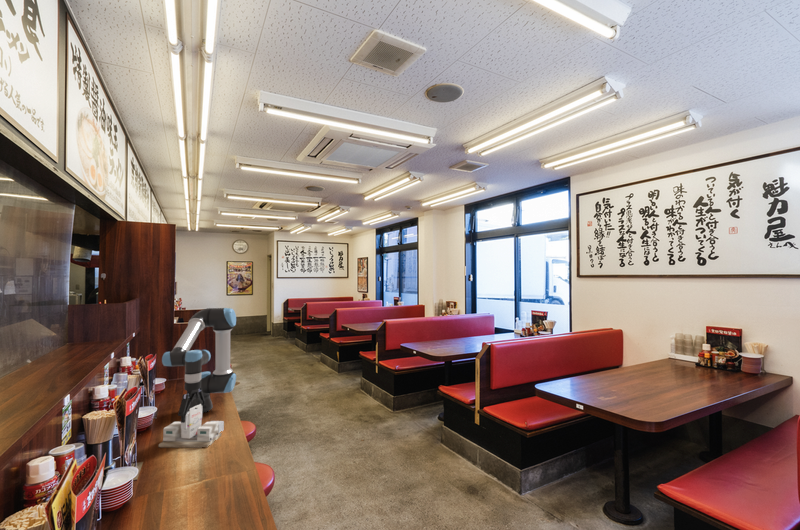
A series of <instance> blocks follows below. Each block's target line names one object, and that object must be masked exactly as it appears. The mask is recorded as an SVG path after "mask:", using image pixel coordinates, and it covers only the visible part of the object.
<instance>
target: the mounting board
mask: <svg viewBox="0 0 800 530" xmlns="http://www.w3.org/2000/svg"><path fill="white" fill-rule="evenodd" d="M218 424H219V422H211V421H206V422H205V423H203V424H201V426H200V427H199V428H198V429H197V435H195V436H193V437H191V438H189V439H188V438H181V421H173V422H172V423H170V424H169V425H167V426H165V427H163V431H162V432H163V434H162V435H163V436H162V437H163V439H162V442H160V443H159V444H158V448H202V447H207V448H209V447H210V446H211V445H212V444H214V443H215V442H216V441H217V440H218V439H220V437H222V435H223V434H222V432H221V433H218ZM215 440H216V441H215ZM214 441H215V442H214ZM209 445H210V446H209ZM208 446H209V447H208Z"/></svg>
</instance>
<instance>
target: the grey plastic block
mask: <svg viewBox="0 0 800 530" xmlns="http://www.w3.org/2000/svg"><path fill="white" fill-rule="evenodd" d="M210 422H219V424H218V433H220V432H221V431H222V432H223V431H224V430H225V429H224V428H225V422H224V420H210ZM222 432H221V433H222Z"/></svg>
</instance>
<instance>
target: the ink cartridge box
mask: <svg viewBox="0 0 800 530" xmlns="http://www.w3.org/2000/svg"><path fill="white" fill-rule="evenodd" d="M195 408H197V409H195ZM186 415H187V429H181V438H188V439H189V438H191V437H193V436H195V435H197V429H198V428H199V427H200V426H202V422H203V421H202V419H203V413H202V409H201V404H199V405H197V406H194V407H192V408H190V409H189V411H188V412H187V414H186Z"/></svg>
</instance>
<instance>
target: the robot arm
mask: <svg viewBox="0 0 800 530" xmlns="http://www.w3.org/2000/svg"><path fill="white" fill-rule="evenodd" d="M236 325H237V315H236V311H235V310H234V309H233V308H232V307H231V308H230V307H229V308H228V307H216V308H214V307H209V308H203V309H202V310H199V311H198V312H195V314H194V315H192V316H191V318H189V319H188V322H187V326H186V328H185V329H184V331H183V333H182V334H181V336H180V338H179V339H178V341H177V342H176V344H175V345H174V347H173V349H172V350H171V351H170V350H169V351H165V352H164V353H163V355H162V357H161V363H162V365H163V367H184V391H186V394H184V393H183V394H182V397H181V398H182V399H181V402H180V405H179V410H178V413H177V416H178V417H179V416H180V422H181V429H187V415H186V414H187V412H188V411H189V409H190V408H192V407H194V406H197V405H199V404H201V409H202V414H204V412H205V413H208V412H210V411H209V410H211V409H212V408H214V407H213V402H212V399H211V394H227V393H231V392H232V391H234V388H235V387H236V386H235V385H236V382H237V374H236V373H234V369H232V367H231V331H232V330H234V327H235V326H236ZM211 327H212V331H213V332H214V334H215V370H213V372H212V373H211V371H202V370H203V367H202V366H203V365H206V364H208V362H210V360H211V356H212V355H211V352H210V351H209V350H207V349H194V350H193V349H192V350H191V348H192V347H193V345H194V343H195V341H196V340H197V338H198V336H199V334H200V333H201V331H203V330H204V329H205V328H211ZM195 409H197V408H195ZM212 410H213V409H212ZM212 410H211V411H212ZM207 411H208V412H207Z"/></svg>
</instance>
